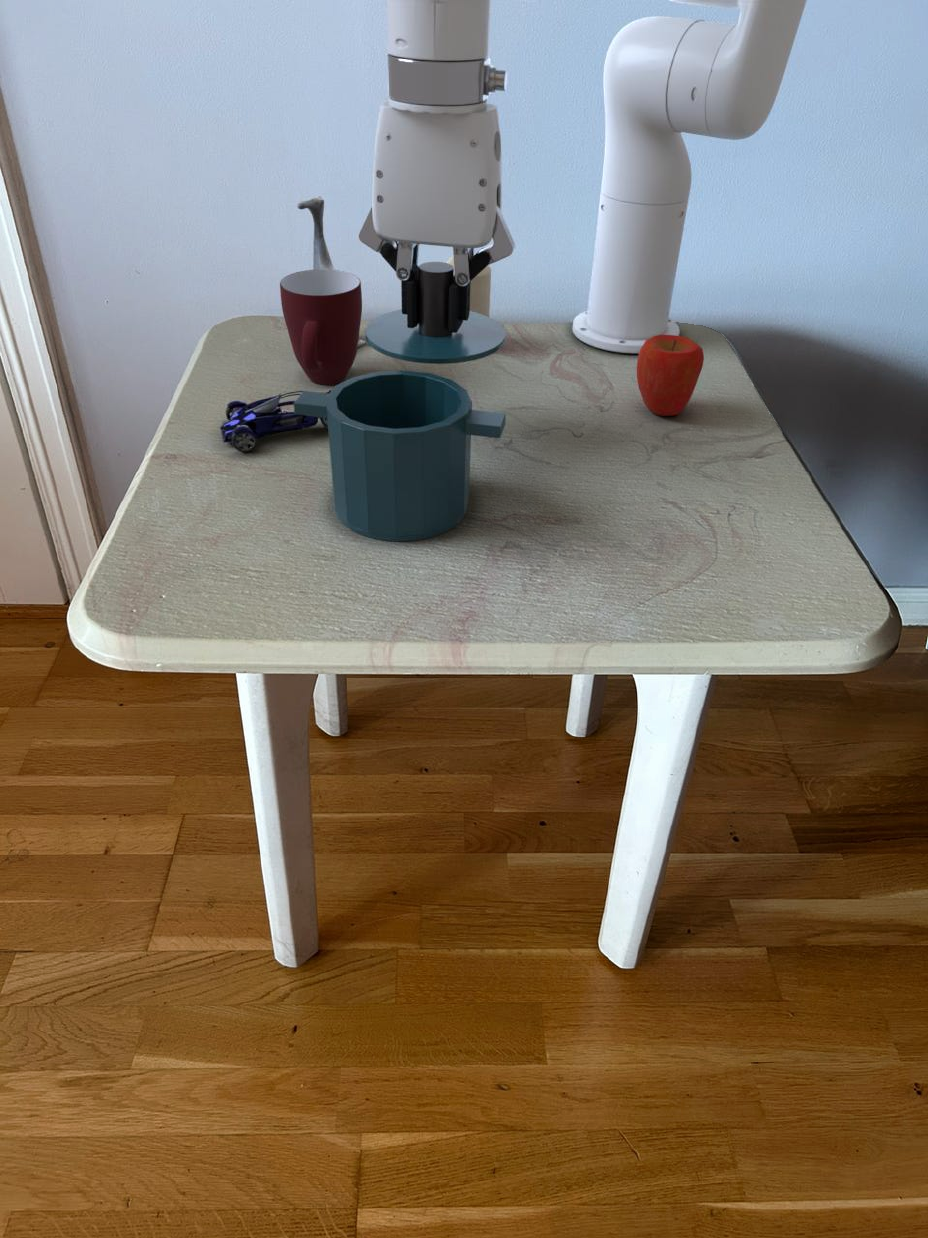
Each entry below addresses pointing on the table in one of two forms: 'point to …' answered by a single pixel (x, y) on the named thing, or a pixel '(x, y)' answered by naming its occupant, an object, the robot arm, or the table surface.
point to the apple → (668, 372)
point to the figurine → (319, 237)
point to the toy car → (262, 421)
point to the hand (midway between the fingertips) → (435, 322)
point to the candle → (479, 290)
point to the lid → (435, 326)
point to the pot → (400, 451)
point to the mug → (323, 321)
